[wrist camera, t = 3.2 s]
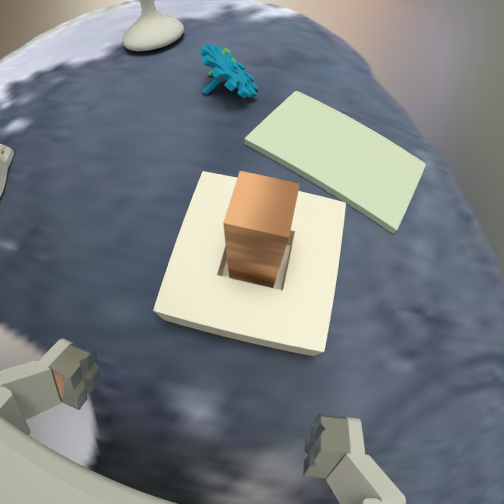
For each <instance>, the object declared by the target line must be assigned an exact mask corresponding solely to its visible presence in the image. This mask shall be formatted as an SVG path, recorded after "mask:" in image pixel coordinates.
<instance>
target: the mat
mask: <svg viewBox="0 0 504 504" xmlns="http://www.w3.org/2000/svg"><path fill="white" fill-rule="evenodd" d="M244 144H245V145H247V146H249V147H250V148H252V149H254V150H256V151H258V152H260V153H262V154H263V155H265V156H267V157H269V158H271V159H272V160H274V161H276V162H278V163H280V164H281V165H283V166H285V167H287V168H288V169H290V170H292V171H294V172H295V173H297V174H299V175H300V176H302V177H304V178H306V179H307V180H309V181H311V182H312V183H314V184H316V185H317V186H319V187H321V188H322V189H324V190H326V191H327V192H329V193H330V194H332V195H334V196H335V197H337V198H339V199H340V200H342V201H343V202H345V203H347V204H348V205H350V206H351V207H353V208H354V209H356V210H358V211H359V212H361V213H362V214H364V215H365V216H367V217H368V218H370V219H371V220H373V221H374V222H376V223H377V224H379V225H380V226H382V227H383V228H385V229H386V230H388V231H389V232H391V233H392V234H394V233H395V232H396V231H397V229H398V227H399V225H400V222H401V220H402V218H403V216H404V214H405V212H406V210H407V207H408V205H409V203H410V201H411V198H412V196H413V194H414V192H415V189H416V187H417V185H418V182H419V180H420V178H421V175H422V173H423V170H424V168H425V165H426V164H425V163H423V162H422V161H420V160H419V159H417V158H416V157H414V156H413V155H411V154H410V153H408V152H407V151H405V150H404V149H402V148H401V147H399V146H397V145H396V144H394V143H393V142H391V141H389V140H388V139H386V138H384V137H383V136H381V135H379V134H378V133H376V132H374V131H373V130H371V129H369V128H367V127H366V126H364V125H362V124H360V123H359V122H357V121H355V120H353V119H351V118H350V117H348V116H346V115H344V114H342V113H340V112H338V111H337V110H335V109H333V108H331V107H329V106H327V105H325V104H323V103H321V102H319V101H317V100H315V99H313V98H311V97H309V96H307V95H304V94H302V93H300V92H298V91H295V92H294V93H293V94H292V95H291V96H290V97H288V98H287V99H286V100H285V101H284V102H283V103H282V104H281V105H280V106H279V107H277V108H276V109H275V110H274V111H273V112H272V113H271V114H270V115H269V116H268V117H267V118H266V119H265V120H263V121H262V122H261V123H260V124H259V125H258V126H257V127H256V128H255V129H254V130H253V131H252V132H251V133H250V134H249V135H248V136H247V137H246V138H245V139H244Z"/></svg>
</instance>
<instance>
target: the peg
mask: <svg viewBox="0 0 504 504" xmlns="http://www.w3.org/2000/svg"><path fill="white" fill-rule="evenodd" d="M299 185H300V184H298V183H294V182H290V181H285V180H281V179H276V178H272V177H267V176H262V175H257V174H252V173H247V172H242V171H240V172H239V175H238V178H237V181H236V184H235V187H234V190H233V194H232V197H231V200H230V203H229V206H228V209H227V212H226V216H225V219H224V222H223V226H224V235H225V245H226V254H227V263H228V271H229V278H231V279H236V280H240V281H244V282H248V283H253V284H257V285H261V286H265V287H270V288H273V287H274V284H275V281H276V278H277V275H278V271H279V268H280V265H281V262H282V259H283V256H284V252H285V249H286V246H287V243H288V239H289V236H290V231H291V226H292V221H293V216H294V211H295V206H296V201H297V196H298V190H299Z"/></svg>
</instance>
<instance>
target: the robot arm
mask: <svg viewBox="0 0 504 504" xmlns="http://www.w3.org/2000/svg"><path fill="white" fill-rule="evenodd" d="M13 156H14V151H13V150H12V149H11V148H9V147H7V146H5V145H2V144H0V197H1V195H2V192H3V190H4V187H5V183H6V178H7V170H8V167H9V165H10V163H11V161H12V158H13ZM96 362H97V356H96V354H95V353H94V352H92V351H89V350H87V349H85V348H83V347H81V346H78V345H76V344H74V343H72V342H69V341H67V340H65V339H60V340H59V341H58V342H57V343H56V344H55V345H54V346H53V347H52V348H51V349H50V350H49V351H48V352H47V353H46V354H45V355H44V356H43V357H42V358H41V359H40V360H39V361H38V362H37V361H31V362H28V363H25V364H21V365H18V366H14V367H11V368H7V369H4V370H0V504H177V503H173V502H170V501H167V500H164V499H161V498H158V497H155V496H152V495H149V494H147V493H144V492H141V491H138V490H136V489H133V488H131V487H128V486H126V485H123V484H121V483H118V482H116V481H114V480H111V479H109V478H107V477H104V476H102V475H100V474H98V473H96V472H94V471H91V470H89V469H87V468H85V467H83V466H81V465H79V464H77V463H75V462H73V461H71V460H70V459H68V458H66V457H64V456H62V455H60V454H58V453H57V452H55V451H53V450H51V449H50V448H48V447H46V446H45V445H43V444H41V443H40V442H38V441H36V440H35V439H33V438H31V437H30V436H29V434H30V429H29V428H28V425H27V423H26V421H25V420H26V419H29V418H31V417H33V416H35V415H37V414H39V413H41V412H43V411H45V410H47V409H49V408H51V407H53V406H56V405H58V404H60V403H61V402H63V403H65V404H67V405H69V406H71V407H74V408H76V409H78V410H80V408H81V407H82V406H83V404H84V403H85V401H86V400H87V393H89V392H92V391H93V390H94V389H95V387H96V386H97V383H98V380H99V369H98V367H97V366H96V364H95V363H96ZM305 452H306V453H307V457H306V459H305V460H304V474H303V476H310V477H317V478H326V481H327V482H328V484H329V486H330V488H331V489H332V491H333V493H334V494H335V496H336V498H337V499H338V501H339V503H340V504H406V501H405V496H404V495H403V494H402V493H401V492H400V491H399V489H398V488H397V487H396V486H395V485H394V484H393V483H392V481H391V480H390V479H389V478H388V477H387V476H386V474H385V473H384V472H383V471H382V470H381V469H380V467H379V466H378V465H377V464H376V463H375V462H374V460H373V459H372V458H371V457H370V456H369V455H365V449H364V441H363V433H362V425H361V420H360V419H356V418H347V417H346V418H345V417H340V416H332V415H324V414H318V415H317V417H316V419H315V426H313V427H311V428H310V430H309V432H308V434H307V437H306V442H305Z"/></svg>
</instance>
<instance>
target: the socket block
mask: <svg viewBox="0 0 504 504" xmlns="http://www.w3.org/2000/svg"><path fill="white" fill-rule="evenodd" d="M236 181H237V178H235V177H230V176H225V175H220V174H214V173H209V172H204V171H203V172H202V174H201V177H200V179H199V182H198V185H197V187H196V190H195V192H194V195H193V198H192V200H191V203H190V205H189V208H188V211H187V213H186V216H185V219H184V222H183V224H182V227H181V230H180V233H179V235H178V238H177V241H176V244H175V247H174V250H173V252H172V255H171V258H170V261H169V264H168V267H167V270H166V273H165V276H164V279H163V282H162V285H161V288H160V291H159V294H158V297H157V301H156V304H155V307H154V310H153V311H154V312H155V313H157V314H158V315H159V316H160V317H161V318H162V319H164V320H166V321H169V322H172V323H176V324H179V325H183V326H187V327H190V328H194V329H198V330H201V331H205V332H209V333H213V334H216V335H220V336H224V337H228V338H232V339H236V340H241V341H245V342H249V343H253V344H258V345H262V346H266V347H271V348H276V349H280V350H285V351H290V352H295V353H299V354H304V355H310V356H315V355H318V354H320V353H323V352H324V350H325V345H326V339H327V334H328V328H329V323H330V317H331V311H332V305H333V299H334V292H335V286H336V279H337V272H338V265H339V257H340V250H341V242H342V233H343V225H344V215H345V206H346V203H345V202H341V201H337V200H333V199H329V198H325V197H321V196H317V195H313V194H309V193H305V192H300V191H298V196H297V201H296V206H295V211H294V216H293V221H292V226H291V231H290V236H289V239H288V243H287V246H286V249H285V252H284V256H283V259H282V262H281V265H280V268H279V271H278V275H277V278H276V281H275V284H274V287H273V288H270V287H265V286H261V285H257V284H253V283H248V282H244V281H240V280H236V279H231V278H229V271H228V263H227V254H226V245H225V235H224V226H223V222H224V219H225V216H226V212H227V209H228V206H229V203H230V200H231V197H232V194H233V190H234V187H235V184H236Z"/></svg>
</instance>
